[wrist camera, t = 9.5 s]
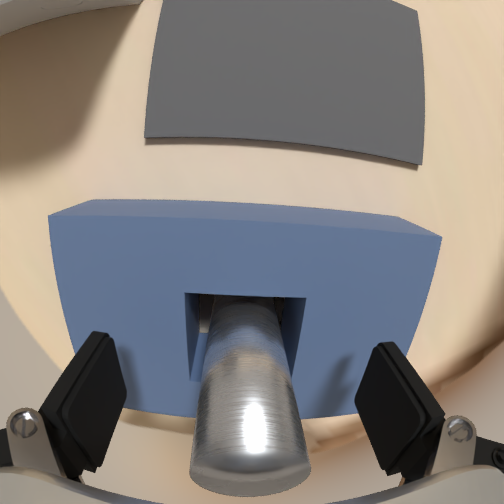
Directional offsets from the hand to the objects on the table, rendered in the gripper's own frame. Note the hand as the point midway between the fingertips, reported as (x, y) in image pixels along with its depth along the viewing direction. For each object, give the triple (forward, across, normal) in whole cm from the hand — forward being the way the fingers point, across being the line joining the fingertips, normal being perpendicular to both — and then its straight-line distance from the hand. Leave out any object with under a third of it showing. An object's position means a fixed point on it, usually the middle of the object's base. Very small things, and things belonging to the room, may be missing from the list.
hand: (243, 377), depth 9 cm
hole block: (+6, 0, 0) cm, 6 cm away
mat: (+6, -2, -13) cm, 14 cm away
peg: (+6, 0, 0) cm, 6 cm away
